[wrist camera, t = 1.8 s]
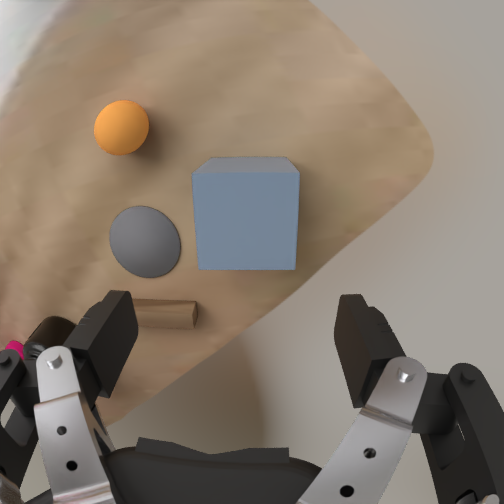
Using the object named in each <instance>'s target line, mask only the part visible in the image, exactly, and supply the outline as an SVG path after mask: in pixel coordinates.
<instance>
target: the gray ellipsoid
mask: <svg viewBox="0 0 504 504" xmlns="http://www.w3.org/2000/svg"><path fill="white" fill-rule="evenodd" d="M110 246H111V249H112V252H113V254H114V256H115V258H116V259H117V261H118V262H119V263H120V264H121V265H122V266H123V267H124V268H125V269H126V270H127V271H129V272H131V273H133V274H135V275H137V276H140V277H146V278H153V277H158V276H162V275H164V274H166V273H167V272H169V271H170V270H171V269H172V268H173V266H174V265H175V263H176V262H177V260H178V257H179V254H180V239H179V235H178V233H177V230H176V228H175V227H174V225H173V223H172V222H171V221H170V220H169V219H168V218H167V217H166V216H165V215H164V214H163V213H161V212H159V211H158V210H155V209H153V208H150V207H145V206H136V207H131V208H128V209H126V210H124V211H123V212H121V213H120V214H119V215H118V216H117V217H116V218H115V220H114V222H113V224H112V226H111V229H110Z"/></svg>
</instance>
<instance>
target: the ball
mask: <svg viewBox="0 0 504 504" xmlns="http://www.w3.org/2000/svg"><path fill="white" fill-rule="evenodd" d="M148 130H149V120H148V117H147V114H146V112H145V111H144V109H143V108H142V107H141V106H140V105H138V104H137V103H135V102H132V101H128V100H120V101H116V102H113V103H111V104H109V105H108V106H106V107H105V108H104V109H103V110H102V111H101V112H100V114H99V115H98V117H97V119H96V122H95V126H94V135H95V139H96V141H97V143H98V145H99V146H100V147H101V148H102V149H103V150H104V151H106V152H107V153H110V154H113V155H126V154H129V153H131V152H133V151H135V150H136V149H138V148H139V147H140V146H141V145H142V144H143V142H144V141H145V139H146V137H147V134H148Z"/></svg>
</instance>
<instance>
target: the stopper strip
mask: <svg viewBox="0 0 504 504" xmlns="http://www.w3.org/2000/svg"><path fill="white" fill-rule="evenodd" d="M132 301H133V305H134V309H135V314H136V318H137V322H138V326H146V327H161V328H179V329H194V328H195V324H196V320H197V317H198V314H197V306H196V301H173V300H147V299H132Z"/></svg>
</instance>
